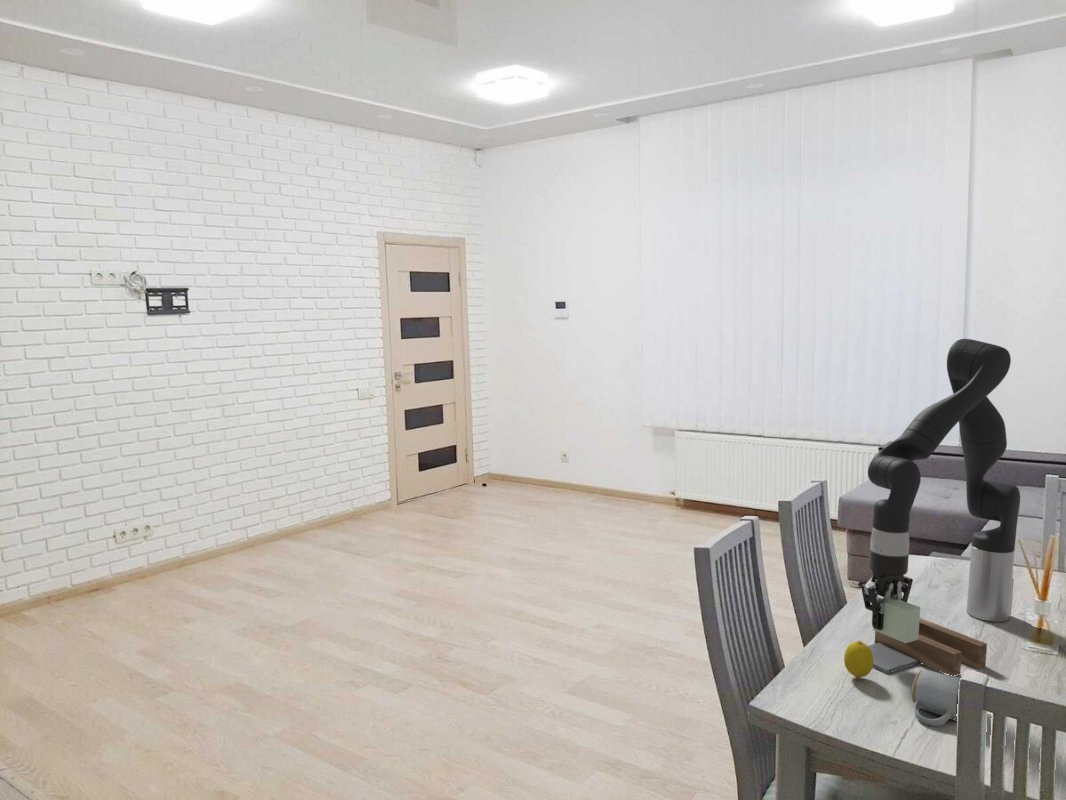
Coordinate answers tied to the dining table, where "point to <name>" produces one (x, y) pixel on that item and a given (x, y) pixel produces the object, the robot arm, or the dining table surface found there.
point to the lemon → (858, 659)
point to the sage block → (900, 620)
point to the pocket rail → (940, 648)
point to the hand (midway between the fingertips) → (884, 626)
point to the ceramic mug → (935, 696)
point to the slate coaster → (889, 658)
